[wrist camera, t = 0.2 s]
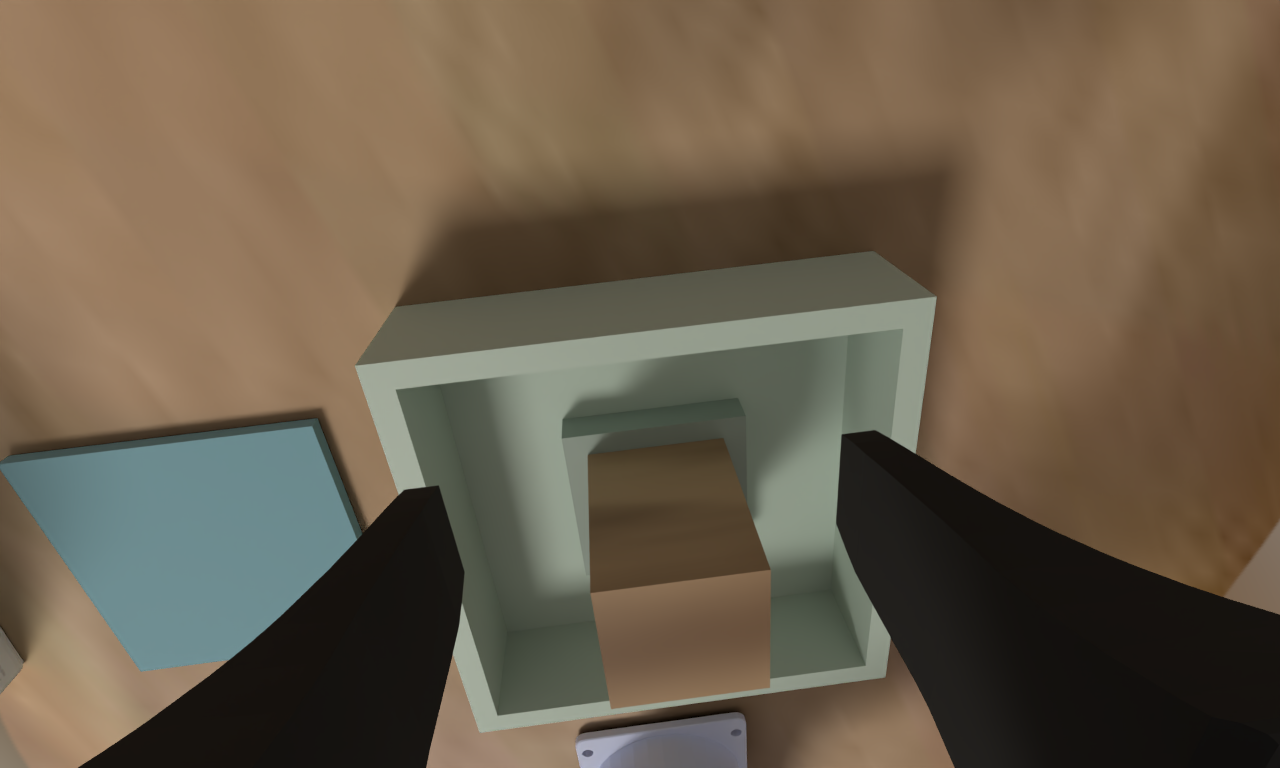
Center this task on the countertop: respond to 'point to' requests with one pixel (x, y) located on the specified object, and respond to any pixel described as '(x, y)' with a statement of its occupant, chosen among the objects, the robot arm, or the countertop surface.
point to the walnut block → (676, 575)
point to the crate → (639, 418)
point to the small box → (8, 662)
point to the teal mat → (192, 532)
